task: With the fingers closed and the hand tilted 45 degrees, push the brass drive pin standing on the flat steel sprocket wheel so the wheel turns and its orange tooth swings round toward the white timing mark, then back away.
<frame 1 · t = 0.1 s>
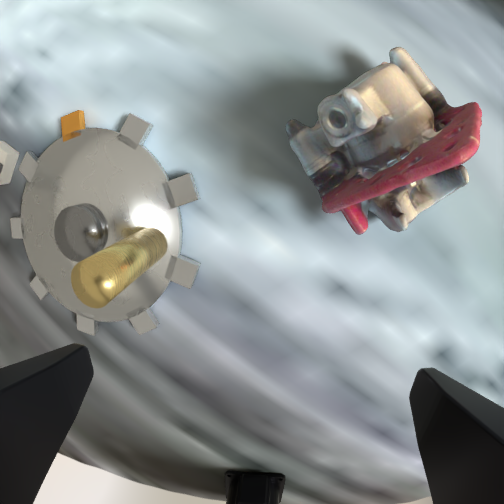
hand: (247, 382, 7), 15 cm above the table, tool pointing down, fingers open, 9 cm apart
timing mark: (6, 161, 22), on the table
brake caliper: (375, 148, 20), on the table
sprocket: (56, 241, 18), point 5 cm above the table, hinge at 0.0°
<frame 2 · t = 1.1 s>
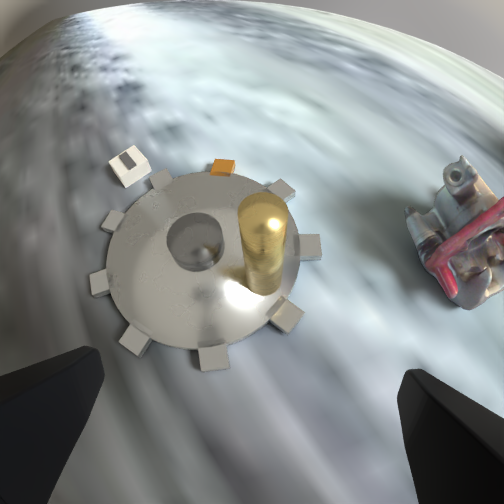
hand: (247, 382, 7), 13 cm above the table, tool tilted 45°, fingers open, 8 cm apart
timing mark: (132, 171, 29), on the table
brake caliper: (453, 258, 24), on the table
sprocket: (186, 219, 20), point 5 cm above the table, hinge at 0.0°
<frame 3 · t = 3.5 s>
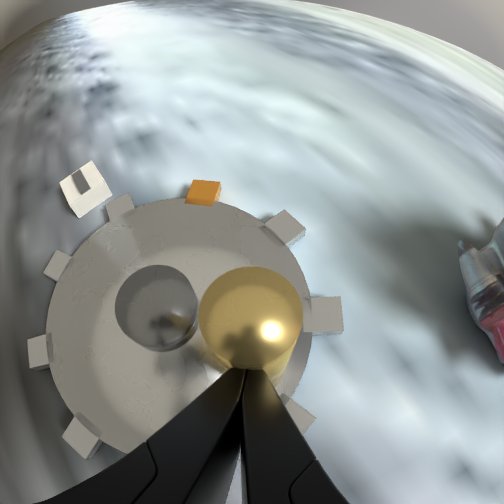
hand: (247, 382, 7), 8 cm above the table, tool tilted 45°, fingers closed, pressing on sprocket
timing mark: (89, 195, 21), on the table
sprocket: (135, 283, 12), point 5 cm above the table, hinge at 0.0°, touching gripper
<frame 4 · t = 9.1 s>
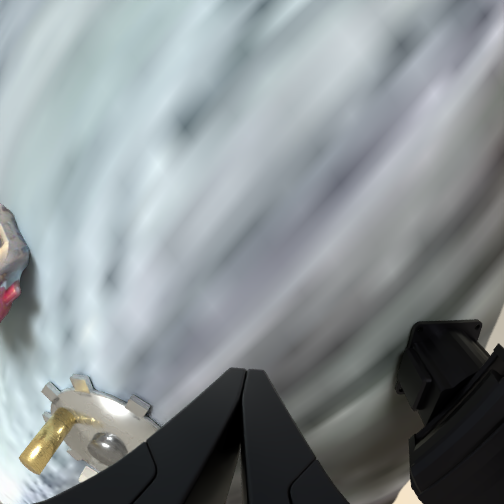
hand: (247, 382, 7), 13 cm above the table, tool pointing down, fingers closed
timing mark: (94, 475, 30), on the table
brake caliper: (1, 250, 22), on the table
sprocket: (98, 470, 22), point 5 cm above the table, hinge at 67.4°
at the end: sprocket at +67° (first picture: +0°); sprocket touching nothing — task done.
